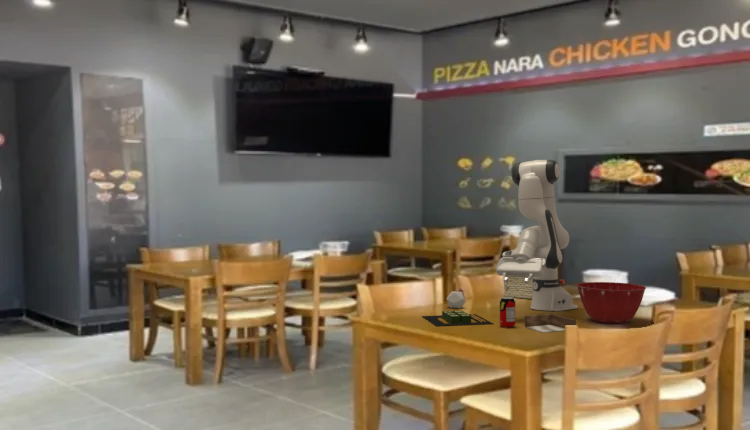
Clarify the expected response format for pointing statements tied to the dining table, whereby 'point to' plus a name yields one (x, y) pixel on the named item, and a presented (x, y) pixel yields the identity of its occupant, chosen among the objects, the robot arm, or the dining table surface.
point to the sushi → (457, 319)
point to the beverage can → (507, 312)
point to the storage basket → (518, 287)
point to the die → (456, 299)
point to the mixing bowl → (611, 300)
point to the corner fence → (548, 322)
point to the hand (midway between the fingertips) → (515, 282)
